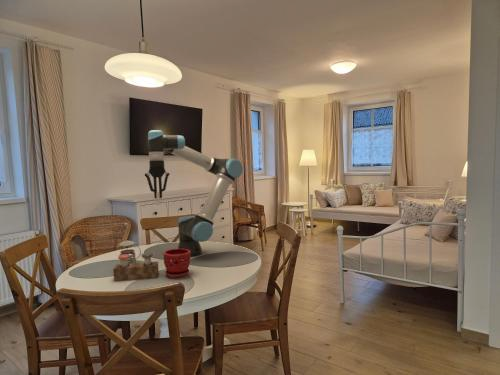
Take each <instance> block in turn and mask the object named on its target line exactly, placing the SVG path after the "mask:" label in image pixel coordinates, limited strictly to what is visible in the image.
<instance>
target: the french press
mask: <svg viewBox="0 0 500 375" xmlns="http://www.w3.org/2000/svg"><path fill="white" fill-rule="evenodd" d="M123 225H124V226H128V225H129V224H128V222H124V223H123ZM125 233H126V235H125V236H126V240H124V241H121V242H120V243H119V244H118V246H119V247H131V246H133V247H134V248H136V247H137V248H138V249H139V255H138V256H137V257H136V253H135V249H128V248H126V249H123V250H121V251H120V254H119V255H123V254H129V255H130V258H128V264H131V263H137V259H139V258H140V256H142V250H141V248H140V246H139V245H137V244H136V242H135V241H132V240H128V236H127V235H128V234H127V231H125ZM119 264H121V260H119Z"/></svg>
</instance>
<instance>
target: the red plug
mask: <svg viewBox="0 0 500 375" xmlns="http://www.w3.org/2000/svg"><path fill="white" fill-rule="evenodd" d="M130 255H131V254H123V255H120V254H119V255H118V260H119V261H120V260H121V267H128V262H129V261H128V258H130Z"/></svg>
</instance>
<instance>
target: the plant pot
mask: <svg viewBox="0 0 500 375" xmlns="http://www.w3.org/2000/svg"><path fill="white" fill-rule="evenodd" d="M181 253H182V254H181ZM191 257H192V256H191V254H190V250H188V249H178V248H172V249H168V250H165V251H164V252H163V265H164V268H165V271H164V272H165V275H166V276H167V277H169V278H181V277H184V276H186V275H188V274H189V272H190V269H189V267H190V263H191Z"/></svg>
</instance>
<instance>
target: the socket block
mask: <svg viewBox="0 0 500 375" xmlns="http://www.w3.org/2000/svg"><path fill="white" fill-rule="evenodd" d="M112 270H113V272H112V273H113V282H123V281H133V280H134V281H135V280H144V279H155V278H156V279H157V278H158V276H159V261H151V265H147V266H145V261H144V262H136V263H131V264H128V267H121V264H120V263H119V264H116V265H115V266H114V267H113V269H112Z"/></svg>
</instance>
